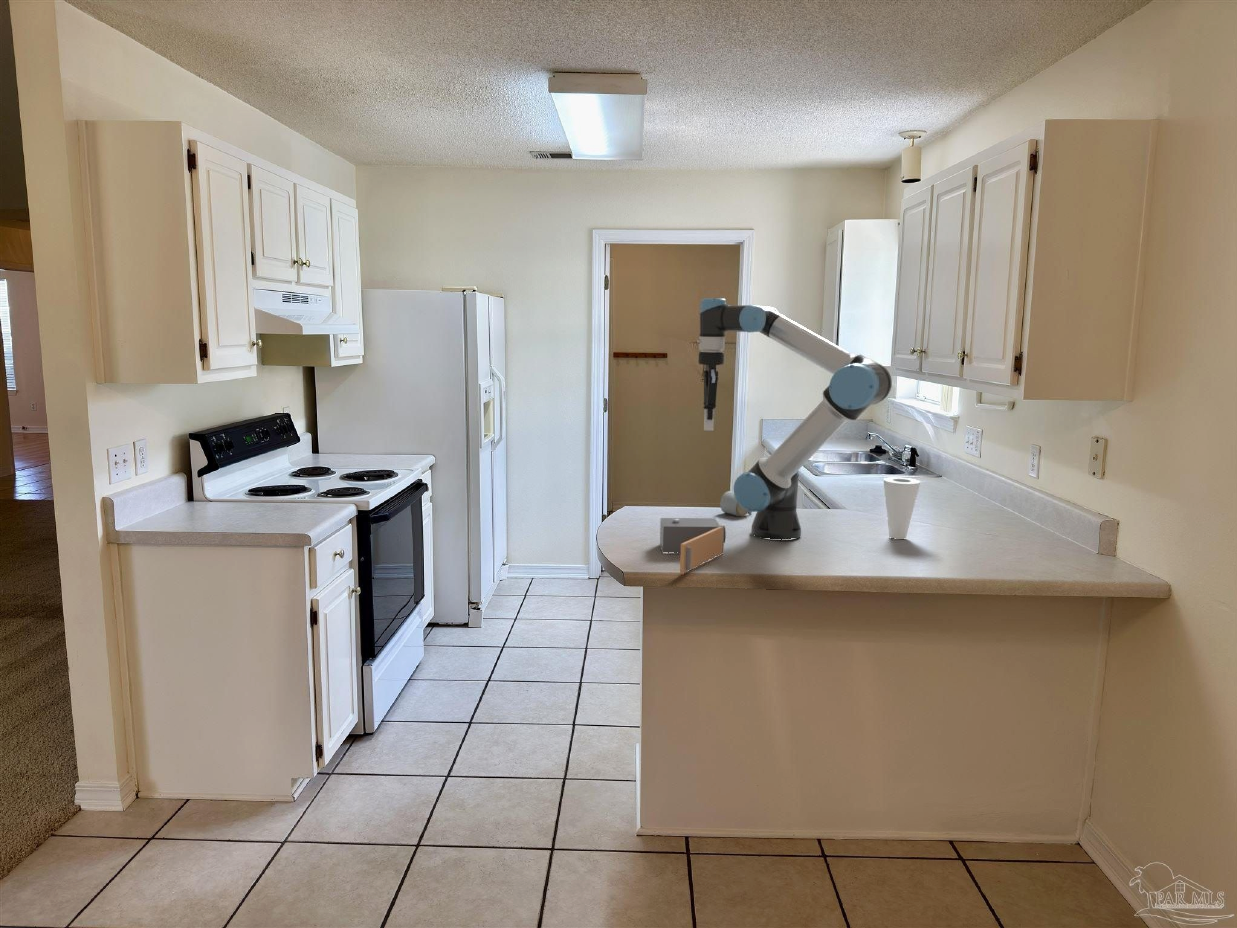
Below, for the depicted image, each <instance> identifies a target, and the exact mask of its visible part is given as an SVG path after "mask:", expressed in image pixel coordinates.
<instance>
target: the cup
mask: <svg viewBox="0 0 1237 928" xmlns="http://www.w3.org/2000/svg"><path fill="white" fill-rule="evenodd" d="M883 486H884V487H883V488H884V489H883V490H884V496H885V507H886V517H887V528H888V537H891V538H896V539H904V538H906V539H907V535H908V532H909V531H908V530H909V528H910V524H911V519H912V516H913V511H914V508H915V506H916V505H915V503H916V501H917V498H918V497H917V496H918V493H919V488H920V486H921V480H918V479H915V478H911V477H910V478H909V477H902V476H901V477H899V476H889V477H885V478H883ZM891 538H890V539H891Z"/></svg>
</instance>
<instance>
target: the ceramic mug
mask: <svg viewBox="0 0 1237 928" xmlns="http://www.w3.org/2000/svg"><path fill="white" fill-rule="evenodd" d="M719 507H720V510H721V512H723V513H724V514H729V515H733V516H736V517H745V516H746V515H748V513H749V514H752V513H753V512H751V511H747V510H745V509H744V508H742V507H741V506H740V505H739V504H738V502H737V501H736V499H735V496H734V491H733V490H728V491H725V492H724V493H723V494H722V496H721V499H720V503H719Z"/></svg>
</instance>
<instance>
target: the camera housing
mask: <svg viewBox="0 0 1237 928" xmlns="http://www.w3.org/2000/svg"><path fill="white" fill-rule="evenodd" d="M659 521H660V525H659V527H660V528H659V531H660V532H659V546H660V545H661V546H660V549H661V548H662V550H661V552H662V551H663V552H668V553H669V552H674V553H677V552H678V553H681V544H682V543H684V542H686V541H689V540H691V539H693V538H695V537H697V536H700V535H702V534H704V533H706V532H709V531H711V530H713V529H715V528H718V527H720V526H721V525H720V524H719V521H717V519H716V518H715V517H712V518H711V517H704V518H703V517H701V518H700V517H695V518H694V517H660V520H659ZM723 526H724V544H725V542H726V538H727V537H726V536H727V535H726V533H727V532H726V526H725V525H723Z"/></svg>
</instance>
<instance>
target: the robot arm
mask: <svg viewBox="0 0 1237 928" xmlns="http://www.w3.org/2000/svg"><path fill="white" fill-rule="evenodd" d="M726 332H738V333H761V334H762V335H764V336H766V337H768V338H770V339H771V340H773V341H775V342H776V343H778V344H780V345H781V346H783V347H785V348H787V349H789V350H790V351H792V352H793V353H795V354H797V355H799V356H801V357H803V358H804V359H806V360H807V361H809V362H811V363H813V364H814V365H815V366H818V367H820V368H822V369H823V370H825V371H827V372H828V373H830V374H832V377H831V378H830V382H829V384H828V386H827V387H826V388H825V389H824V390H823V392H822V401H821V402H819V404H818V405H817V406H816V407H815V408H814V409H813V410H812V411H811V412H810V413H809V414H808V415H807V417H805V418H804V419H803V420H802V421H801V422H800V424H799V425H798V426H797V427H796V428H795V429H794V430H793V431H792V432H791V433H790V435H789V436H787V438H786V439H785V440H784V441H783V442H782V443H781V444H780V445H779V446H778V447H777V448H776V449H775V450H774V451H773V453H771V454H770V456H769V457H761V458H759V460H757V462H756V463H755V464H754V465H753V466H752V467H751V468H750V469H749V470H748V471H746V472H743V473H742V474H740V475H739V476H737V478H736V479H735V481H734V483H733V492H734V496H735V499H736V501H737V502H738V504H739V505H740V506H741V507H742V508H744V509H745V510H747V511H751V512H752V513H756V514H755V517H754V518H753V521H752V524H751V528H750V529H751V530H750V531H751V533H752V534H753V535H752V534H751V533H750V534H751V535H752V536H754V535H755V536H754V537H756V538H759V537H761V538H760V539H763V538H770V539H781V540H782V539H791V538H798V537H800V536H802V527H801V524H800V523H801V522H800V520H799V517H798V512H797V508H798V507H797V505H798V490H799V477H800V472H799V470H801V468H802V467H803V466H804V465H805V464H806V463H807V462H808V461H810V459H811V458H812V457H813V456H814V455H815V454H816V453H817V452H818V451H819V450H820V449H821V447H823V446H824V444H826V443H827V442H828V440H830V438H832V436H834V434H835V433H837V431H838V430H839V429H841V427H843V426H844V424H846V422H854V421H856V420H857V419H858V418H859V417H860V416H861V415H862V414H863V413H864V412H865V411H866V410H867V409H868V408H869V407H870V406H873V405H876V404H878V403H881V402H883V401H884V400H885V399H886V398H887V397H888V396H889V394H890V392H891V390H892V386H893V385H892V384H893V382H892V376H891V374H890V372H889V371H888V369H887V367H886V366H884V365H882V364H881V363H878V362H876V361H875V360H872V359H870V358H868V357H866V356H864V355H862V354H860V353H858V354H853V353H851V352H850V351H848V350H846V349H844V348H842V347H841V346H839V345H837V344H834V343H833V342H831V341H829V339H826V338H825V337H823V336H820V335H818V334H817V333H815V332H814V331H811V330H810V329H807V328H806V327H804V326H803V325H801V324H799V323H797V322H796V321H793V320H791V319H790V318H788V317H786V316H785V315H783V314H781V313H780V311H778V310H777V309H776V308H775V307H772V306H769V305H755V304H754V305H753V304H746V305H745V304H744V305H742V304H740V305H737V304H736V305H729V304H727V300H726V298H720V297H719V298H718V297H715V298H711V297H710V298H703V299H701V301H700V310H699V335H698V336H699V339H697V340H696V342H697V344H698V350H699V353H698V361H697V362H698V364H699V365H701V366H705V369H704V370H702V372H703V373H702V376H703V409H704V417H703V418H704V419H703V420H704V421H703V431H710V432H711V431H714V426H715V409H716V407H717V405H716V404H717V390H718V389H717V388H718V380H719V371H717V366H722V365H724V363H725V353H724V352H723V351H725V347H726V345H725V343H726V337H725V336H726ZM800 538H801V537H800ZM798 539H799V538H798ZM781 540H780V541H781Z"/></svg>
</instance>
